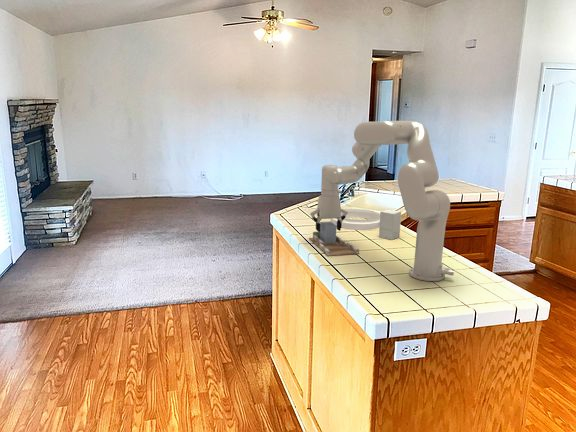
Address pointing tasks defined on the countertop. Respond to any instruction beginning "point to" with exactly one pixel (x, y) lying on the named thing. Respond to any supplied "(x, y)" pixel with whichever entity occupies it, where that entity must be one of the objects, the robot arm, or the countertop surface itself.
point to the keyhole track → (334, 246)
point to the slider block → (328, 232)
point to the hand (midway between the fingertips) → (328, 230)
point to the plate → (355, 224)
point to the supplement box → (390, 224)
